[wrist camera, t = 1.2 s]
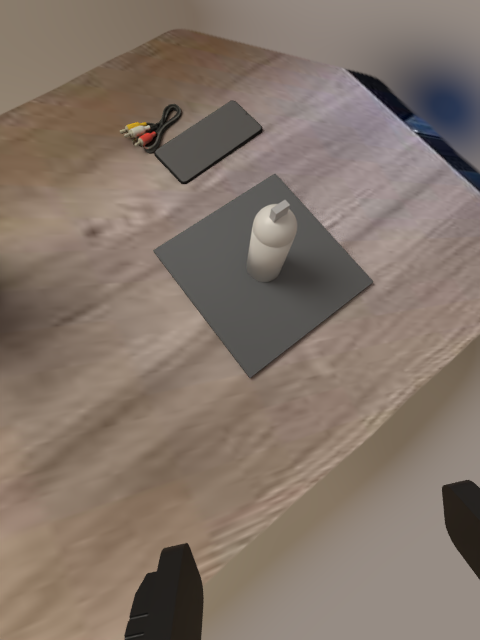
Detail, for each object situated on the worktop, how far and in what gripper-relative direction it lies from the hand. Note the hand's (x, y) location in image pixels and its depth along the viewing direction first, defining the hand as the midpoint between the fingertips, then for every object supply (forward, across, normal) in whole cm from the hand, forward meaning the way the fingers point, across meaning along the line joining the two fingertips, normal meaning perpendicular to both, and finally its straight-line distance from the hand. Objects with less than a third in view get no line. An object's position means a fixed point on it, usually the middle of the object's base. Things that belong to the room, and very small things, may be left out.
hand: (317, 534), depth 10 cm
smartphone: (+43, 0, -23) cm, 49 cm away
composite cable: (+44, +6, -26) cm, 51 cm away
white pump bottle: (+32, -3, -5) cm, 33 cm away
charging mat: (+33, -3, -5) cm, 33 cm away
